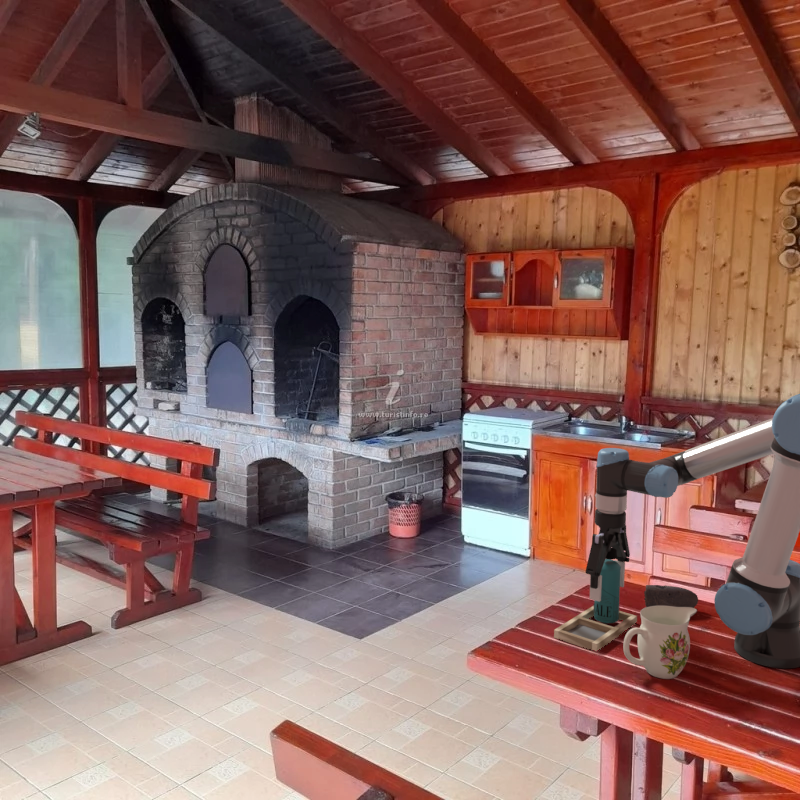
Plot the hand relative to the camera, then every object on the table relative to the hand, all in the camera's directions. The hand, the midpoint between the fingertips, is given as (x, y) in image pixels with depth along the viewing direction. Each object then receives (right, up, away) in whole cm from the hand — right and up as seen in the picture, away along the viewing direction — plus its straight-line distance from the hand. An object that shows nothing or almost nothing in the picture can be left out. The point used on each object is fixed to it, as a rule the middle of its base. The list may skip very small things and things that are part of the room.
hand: (607, 592), depth 190 cm
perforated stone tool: (+19, -8, +10) cm, 23 cm away
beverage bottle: (0, -8, +1) cm, 9 cm away
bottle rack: (-3, -9, -3) cm, 10 cm away
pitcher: (+5, -12, -24) cm, 27 cm away
